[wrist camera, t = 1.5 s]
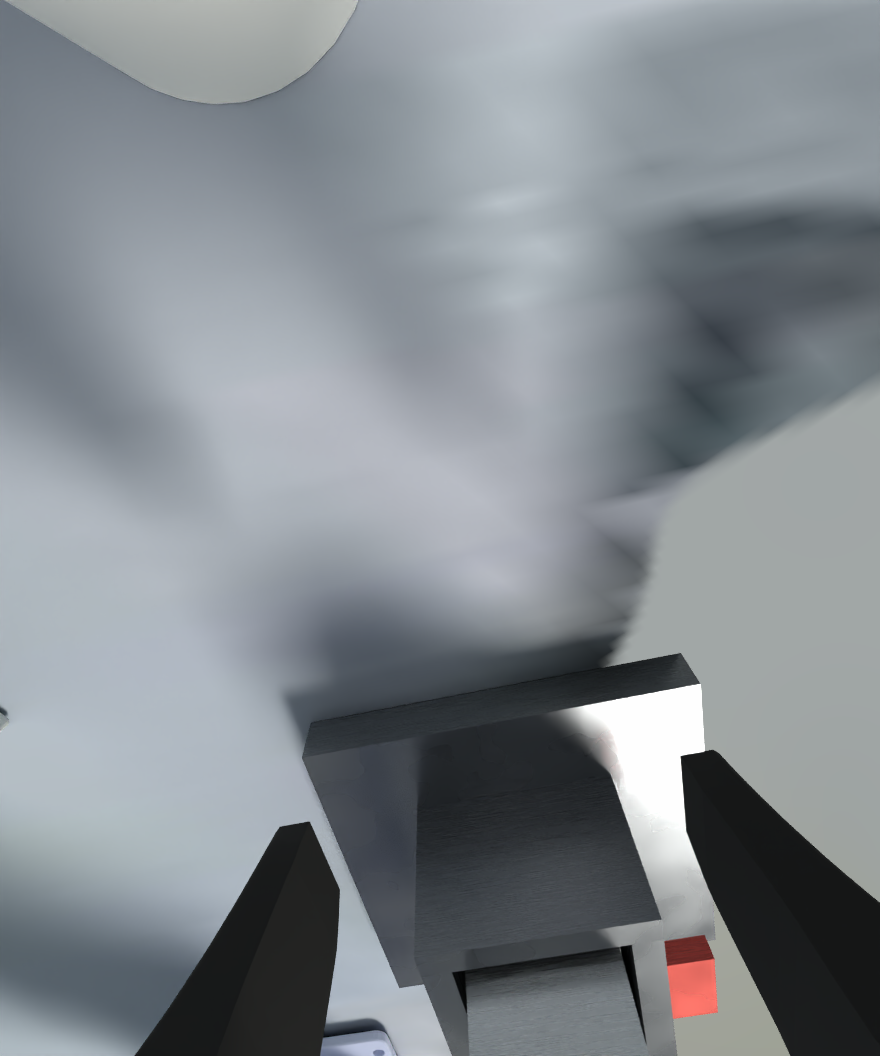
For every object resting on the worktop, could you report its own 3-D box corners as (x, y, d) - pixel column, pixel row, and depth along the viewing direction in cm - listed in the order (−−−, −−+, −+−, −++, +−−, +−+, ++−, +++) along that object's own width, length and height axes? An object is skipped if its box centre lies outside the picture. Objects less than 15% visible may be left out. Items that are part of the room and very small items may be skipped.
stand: (698, 900, 24) (780, 1094, 18) (401, 946, 24) (392, 1145, 19) (680, 653, 19) (784, 816, 13) (310, 723, 20) (264, 903, 14)
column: (598, 891, 21) (697, 1259, 13) (479, 910, 21) (507, 1281, 13) (583, 805, 19) (686, 1171, 11) (454, 827, 19) (470, 1198, 12)
